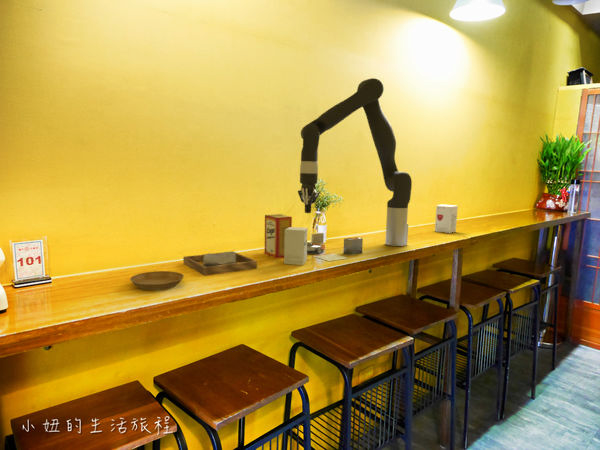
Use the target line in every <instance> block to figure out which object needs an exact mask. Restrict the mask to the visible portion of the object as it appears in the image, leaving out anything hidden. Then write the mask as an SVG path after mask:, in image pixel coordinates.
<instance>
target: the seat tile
mask: <svg viewBox="0 0 600 450" xmlns="http://www.w3.org/2000/svg"><path fill="white" fill-rule="evenodd" d="M312 257H313V258H316V259H320V260H322V261H326V262H334V261H340V260H347V259H348V260H349V257H348V256H347V257H346V256H344V255H339V254H336V253H333V252H332V253H322V254H315V255H312Z"/></svg>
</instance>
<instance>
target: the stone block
mask: <svg viewBox="0 0 600 450" xmlns="http://www.w3.org/2000/svg"><path fill="white" fill-rule="evenodd" d="M225 252H226V253H222V252H220V253H221V254H213V253H210V252H208V253H206V255H205V256H204V257H203V262H202V265H203V266H205V267H210V266H218V265H225V264H233V263H237V261H236V254H235V253H236V252H235V253H233V252H234V251H233V252H231V251H225Z"/></svg>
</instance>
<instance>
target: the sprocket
mask: <svg viewBox="0 0 600 450" xmlns="http://www.w3.org/2000/svg"><path fill="white" fill-rule="evenodd" d="M324 236H325V233H324V232H317V233H311V241H310V242H308V241H307V252H308V253H312V252H317V253H320V252H321V250H324V251H325V250H326V245H325V244H324V241H325V240H324V238H325V237H324Z"/></svg>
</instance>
